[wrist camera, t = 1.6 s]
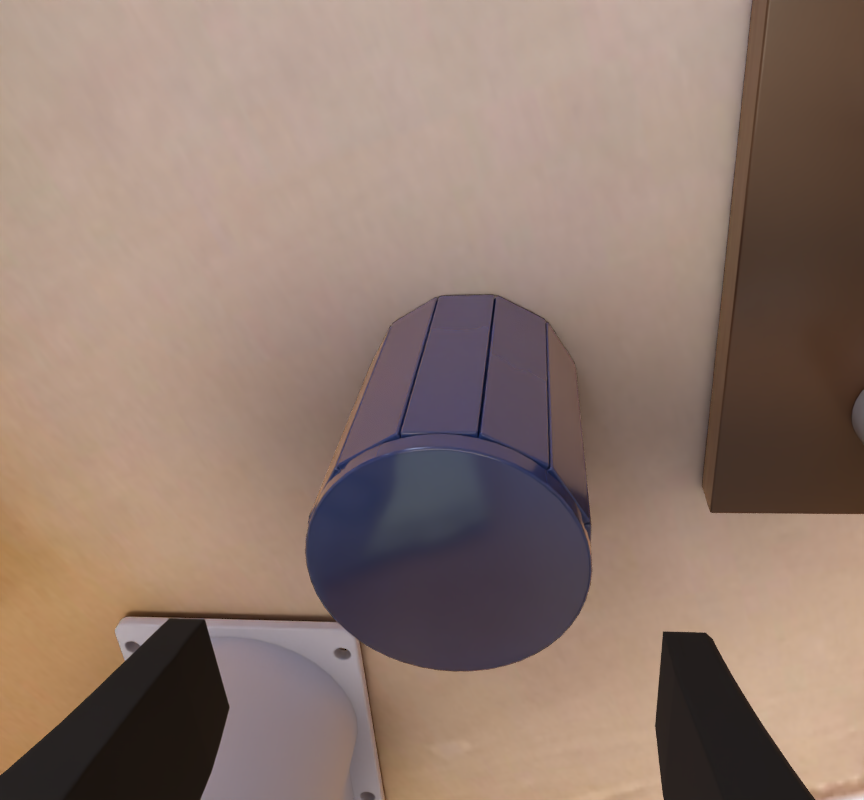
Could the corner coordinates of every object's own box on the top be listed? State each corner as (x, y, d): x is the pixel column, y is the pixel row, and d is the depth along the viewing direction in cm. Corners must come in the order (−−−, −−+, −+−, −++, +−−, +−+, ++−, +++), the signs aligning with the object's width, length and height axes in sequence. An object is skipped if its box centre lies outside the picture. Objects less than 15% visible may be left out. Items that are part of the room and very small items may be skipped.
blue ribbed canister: (574, 475, 22) (589, 677, 16) (382, 475, 22) (325, 668, 16) (576, 291, 19) (595, 446, 13) (360, 297, 20) (282, 448, 14)
